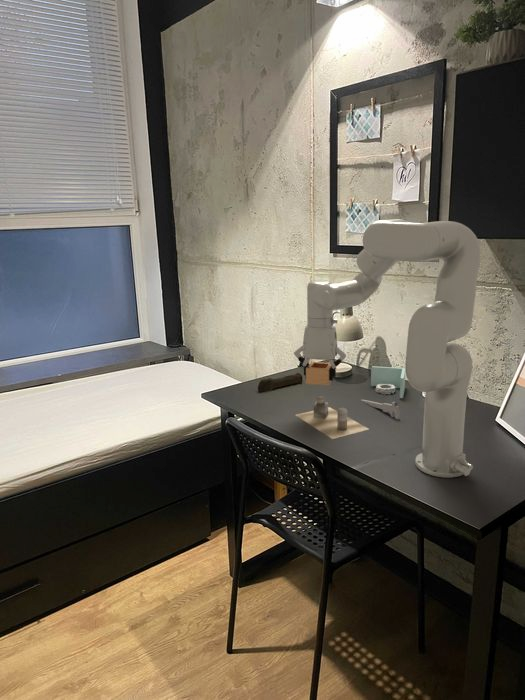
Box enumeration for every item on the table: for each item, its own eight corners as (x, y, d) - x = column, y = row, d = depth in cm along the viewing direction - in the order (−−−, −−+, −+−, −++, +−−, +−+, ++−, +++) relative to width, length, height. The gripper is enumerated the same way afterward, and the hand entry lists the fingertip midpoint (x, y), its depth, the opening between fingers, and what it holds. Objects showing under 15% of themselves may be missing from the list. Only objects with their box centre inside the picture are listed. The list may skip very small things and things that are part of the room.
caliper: (399, 422, 157) (400, 403, 156) (396, 423, 157) (397, 404, 155) (360, 402, 175) (361, 384, 174) (358, 402, 175) (358, 385, 173)
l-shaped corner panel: (371, 385, 190) (371, 366, 189) (404, 387, 187) (405, 368, 185) (367, 396, 179) (367, 376, 178) (402, 399, 176) (403, 378, 174)
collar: (333, 378, 161) (333, 363, 159) (328, 385, 154) (328, 369, 153) (311, 376, 163) (311, 361, 162) (306, 383, 157) (305, 368, 155)
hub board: (369, 432, 150) (369, 410, 149) (332, 442, 145) (332, 419, 143) (329, 409, 169) (329, 389, 167) (295, 417, 163) (294, 397, 161)
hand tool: (297, 381, 199) (297, 369, 198) (303, 384, 196) (303, 372, 195) (254, 391, 190) (254, 379, 189) (260, 394, 187) (259, 382, 186)
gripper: (351, 320, 154) (349, 376, 159) (295, 318, 160) (295, 372, 165) (346, 326, 148) (345, 384, 152) (288, 323, 153) (289, 380, 158)
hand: (319, 378), depth 158 cm, fingers closed on collar, 7 cm apart
